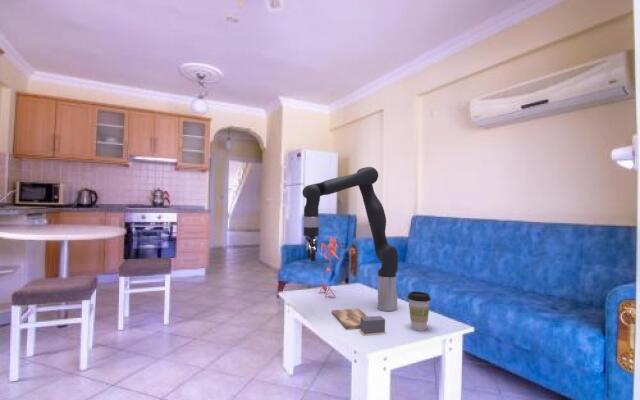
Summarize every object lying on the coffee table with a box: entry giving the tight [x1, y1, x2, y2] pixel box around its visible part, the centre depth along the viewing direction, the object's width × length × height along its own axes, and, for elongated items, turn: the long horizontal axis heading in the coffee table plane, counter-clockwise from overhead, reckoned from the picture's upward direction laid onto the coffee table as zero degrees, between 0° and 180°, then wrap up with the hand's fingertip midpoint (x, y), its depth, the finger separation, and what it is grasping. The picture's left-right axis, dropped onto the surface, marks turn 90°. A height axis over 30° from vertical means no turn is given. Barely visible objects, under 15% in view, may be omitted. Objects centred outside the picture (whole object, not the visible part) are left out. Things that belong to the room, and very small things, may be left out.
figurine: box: [318, 236, 340, 298], centre depth 198 cm, size 15×26×35 cm, turn 22°
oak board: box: [331, 308, 369, 331], centre depth 154 cm, size 14×22×2 cm, turn 14°
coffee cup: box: [407, 291, 432, 332], centre depth 145 cm, size 10×10×15 cm
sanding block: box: [358, 315, 387, 336], centre depth 139 cm, size 10×5×6 cm, turn 104°
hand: (311, 259), depth 158 cm, fingers open, 8 cm apart
